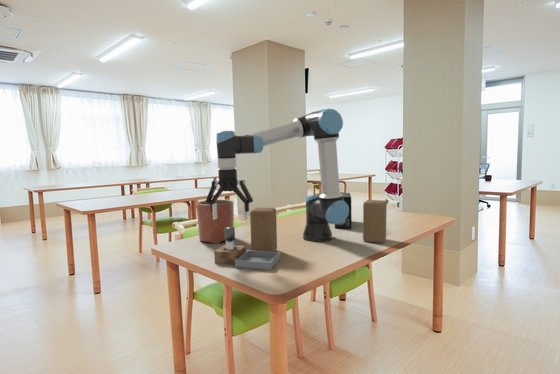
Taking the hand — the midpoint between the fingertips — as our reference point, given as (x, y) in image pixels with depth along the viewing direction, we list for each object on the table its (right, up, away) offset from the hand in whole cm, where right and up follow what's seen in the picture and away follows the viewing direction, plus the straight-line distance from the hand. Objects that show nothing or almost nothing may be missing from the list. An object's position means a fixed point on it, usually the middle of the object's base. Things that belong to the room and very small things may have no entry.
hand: (230, 219), depth 140 cm
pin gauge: (0, -18, +2) cm, 18 cm away
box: (+60, -10, +66) cm, 90 cm away
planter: (-13, -14, +37) cm, 41 cm away
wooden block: (+14, -16, +11) cm, 24 cm away
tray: (+12, -18, -3) cm, 22 cm away
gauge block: (0, -17, +2) cm, 18 cm away
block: (+69, -14, +28) cm, 76 cm away
